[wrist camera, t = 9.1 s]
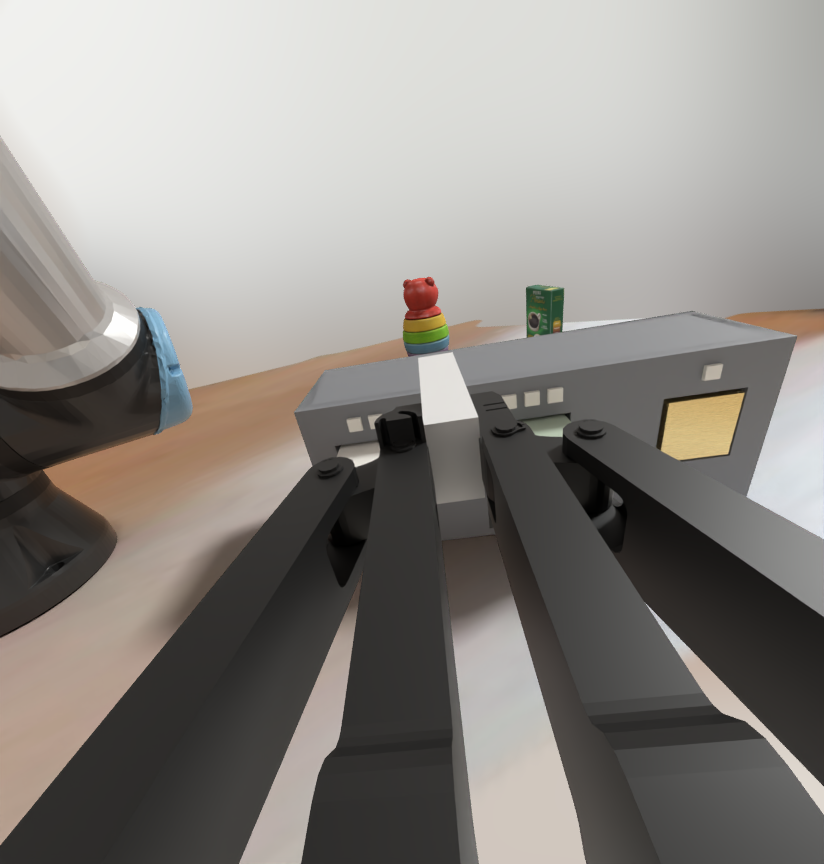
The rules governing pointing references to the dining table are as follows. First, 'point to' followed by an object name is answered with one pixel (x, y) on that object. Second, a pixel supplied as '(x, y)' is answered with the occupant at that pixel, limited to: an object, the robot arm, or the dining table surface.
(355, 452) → the white button
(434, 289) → the stacking bear
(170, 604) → the dining table surface
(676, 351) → the button console
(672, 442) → the brass button
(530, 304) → the coffee box
